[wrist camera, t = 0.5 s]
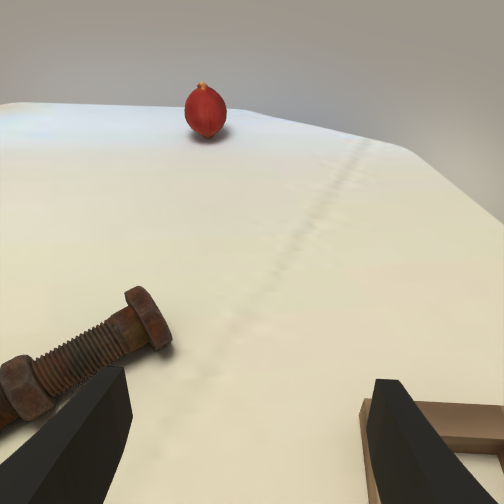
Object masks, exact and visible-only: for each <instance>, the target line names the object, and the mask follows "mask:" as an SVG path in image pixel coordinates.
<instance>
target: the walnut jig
mask: <svg viewBox="0 0 504 504" xmlns="http://www.w3.org/2000/svg"><path fill="white" fill-rule="evenodd" d="M371 401H372V399H367V398H364V401H363V404H362V407H361V410H360V413H359V419H360V428H361V436H362V445H363V454H364V463H365V471H366V480H367V489H368V498H369V504H381V501H380V497H379V494H378V490H377V486H376V482H375V478H374V474H373V470H372V466H371V460H370V454H369V448H368V440H367V433H366V425H367V420H368V415H369V411H370V406H371ZM414 402H415V403H416V405H417V406H418V407H419V409H420V410H421V412H422V413H423V414H424V416H425V417H426V418H427V420H428V421H429V422H430V424H431V425H432V426H433V428H434V429H435V430H436V432H437V433H438V434H439V435H440V437H441V438H442V439H443V440H444V442H445V443H446V444H447V445H448V447H449V448H450V449H451V450H452V452H464V453H480V454H496V455H498V457H499V460H500V463H501V466H502V469H503V472H504V406H499V405H480V404H461V403H443V402H424V401H414Z"/></svg>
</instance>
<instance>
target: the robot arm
mask: <svg viewBox="0 0 504 504" xmlns="http://www.w3.org/2000/svg"><path fill="white" fill-rule="evenodd" d="M132 419H133V414H132V409H131V403H130V398H129V393H128V387H127V382H126V377H125V371H124V367H104V366H103V367H102V368H101V369H100V370H99V371H98V372H97V373H96V374H95V375H94V376H93V377H92V378H91V379H90V380H89V381H88V382H87V383H86V384H85V385H84V386H83V387H82V388H81V389H80V390H79V391H78V392H77V393H76V394H75V395H74V396H73V397H72V398H71V399H70V400H69V401H68V402H67V403H66V404H65V405H64V406H63V407H62V408H61V409H60V410H59V411H58V412H57V413H56V414H55V415H54V416H53V417H52V418H51V419H50V420H49V421H48V422H47V423H46V424H45V425H44V426H43V427H42V428H41V429H40V430H39V431H38V432H36V433H35V434H34V435H33V436H32V437H31V438H30V439H29V440H28V441H27V442H25V443H24V444H23V445H22V446H21V447H20V448H19V449H18V450H17V451H15V452H14V453H13V454H12V455H11V456H10V457H9V458H7V459H6V460H5V461H4V462H3V463H2V464H0V504H103V502H104V500H105V497H106V495H107V492H108V490H109V487H110V485H111V482H112V480H113V477H114V475H115V472H116V470H117V467H118V465H119V462H120V460H121V457H122V454H123V452H124V448H125V445H126V441H127V438H128V434H129V430H130V426H131V422H132ZM366 433H367V440H368V448H369V454H370V460H371V466H372V470H373V474H374V478H375V482H376V486H377V490H378V494H379V497H380V501H381V504H498V503H497V502H496V501H495V500H494V499H493V498H492V497H491V495H490V494H489V493H488V492H487V491H486V490H485V489H484V488H483V487H482V486H481V484H480V483H479V482H478V481H477V480H476V479H475V478H474V476H473V475H472V474H471V473H470V472H469V471H468V470H467V468H466V467H465V466H464V465H463V464H462V462H461V461H460V460H459V459H458V458H457V457H456V455H455V454H454V453H453V452H452V450H451V449H450V448H449V447H448V445H447V444H446V443H445V442H444V440H443V439H442V438H441V437H440V435H439V434H438V433H437V432H436V430H435V429H434V428H433V426H432V425H431V424H430V422H429V421H428V420H427V418H426V417H425V416H424V414H423V413H422V412H421V410H420V409H419V407H418V406H417V405H416V403H415V402H414V401H413V399H412V398H411V396H410V395H409V394H408V392H407V391H406V389H405V388H404V386H403V385H402V384H401V382H400V381H399V380H390V379H376V381H375V386H374V391H373V396H372V401H371V406H370V411H369V415H368V420H367V425H366Z"/></svg>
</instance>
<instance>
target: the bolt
mask: <svg viewBox="0 0 504 504" xmlns="http://www.w3.org/2000/svg"><path fill="white" fill-rule="evenodd" d="M124 294H125V299H126V302H127V304H128V306H127V307H125V308H123V309H122V310H120V311H118V312H116V313H114V314H113V315H111V317H110V318H108V319H107V320H105V321H104V324H103V323H102V322H101V323H100V326H99V325H96V328H95V327H92V330H90V329H88V332H86V331H84V334H81V333H80V336H79V337H78V336H76V338H75V339H73V338H72V339H71V342H70V341H67V344H65V343H63V346H60V345H59V346H58V349H57V348H54V351H51V350H50V352H49V354H48V353H45V356H43V355H41V357H40V358H36V361H34V360H33V359H32V358H31V357H30V356H28V355H20V356H17V357H15V358H13V359H11V360H9V361H7V362H5V363H3V364H2V365H1V368H0V428H3V427H4V426H5V425H8V424H9V423H10V422H13V421H14V420H15V419H18V418H19V416H21V417H22V418H23V419H24V420H26V421H31V420H34V419H36V418H38V417H39V416H41V415H43V414H44V413H46V412H48V411H49V410H51V409H53V408H54V406H55V399H54V397H56V394H60V393H61V391H65V388H67V389H69V388H70V386H74V383H76V384H77V383H78V380H80V381H82V377H83V378H85V379H86V377H87V375H88V376H91V373H93V374H94V373H95V370H97V371H99V368H102V367H103V365H104V366H107V363H110V364H111V363H112V362H111V360H112V361H116V358H117V359H120V358H119V356H122V357H123V356H124V354H128V353H130V352H133V351H135V350H137V349H138V348H140V347H142V346H143V345H145V344H147V343H148V342H150V344H151V346H152V347H153V349H154V350H155V351H157V350H159V349H161V348H162V347H164V346H166V345H167V344H169V343H170V342H171V341H172V340H173V339H172V335H171V332H170V330H169V328H168V325H167V323H166V321H165V319H164V317H163V316H162V314H161V312H160V310H159V309H158V307H157V305H156V304H155V302H154V300H153V299H152V297H151V296H150V294H149V293H148V292H147V291H146V290H145V289H144V288H143V287H141V286H136V287H134V288H132V289H130V290H128V291H126V292H125V293H124Z"/></svg>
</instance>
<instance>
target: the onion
mask: <svg viewBox="0 0 504 504" xmlns="http://www.w3.org/2000/svg"><path fill="white" fill-rule="evenodd" d="M197 87H198V88H197V89H195V90H194V91H193V92H192V93H191V94H190V95H189V97H188V98H187V100H186V104H185V118H186V121H187V123H188V124H189V126H190V127H191V128H192V129H193V130H194V131H196V132H198V133H199V134H201V135H203V136H204V137H206V138H210V137H212V136H213V135H214V134H216V133H217V132H218V131H219V130H220V129H221V128H222V127H223V125H224V123H225V121H226V115H227V110H226V105H225V103H224V100H223V99H222V97H221V96H220V95H219V94H218V93H217V92H216V91H215V90H213V89H212V88H210V87H208V86H207V85H206V84H205V83H204V82H200V83H199V84H198V85H197Z"/></svg>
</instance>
